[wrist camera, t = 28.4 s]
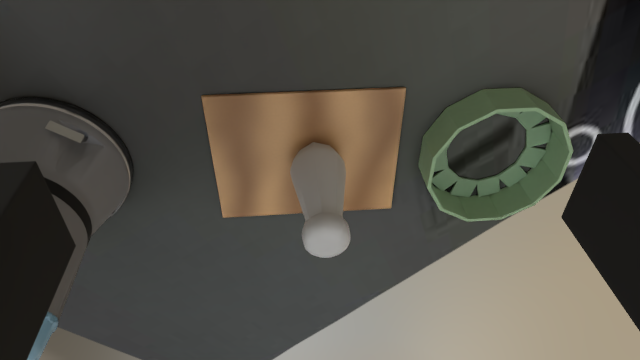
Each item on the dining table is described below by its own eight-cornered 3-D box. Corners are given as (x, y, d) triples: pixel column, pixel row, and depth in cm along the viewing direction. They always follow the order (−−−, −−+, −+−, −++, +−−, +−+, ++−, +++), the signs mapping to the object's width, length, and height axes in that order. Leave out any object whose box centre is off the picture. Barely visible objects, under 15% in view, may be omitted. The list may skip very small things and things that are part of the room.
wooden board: (223, 215, 56) (222, 217, 56) (201, 95, 46) (201, 97, 46) (390, 206, 57) (391, 208, 57) (405, 86, 47) (406, 88, 47)
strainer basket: (412, 201, 57) (420, 224, 54) (430, 91, 48) (441, 111, 45) (531, 194, 58) (546, 217, 55) (572, 85, 49) (592, 105, 46)
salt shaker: (345, 174, 53) (363, 262, 43) (295, 182, 53) (301, 273, 43) (338, 130, 49) (356, 217, 39) (284, 140, 50) (288, 229, 39)
